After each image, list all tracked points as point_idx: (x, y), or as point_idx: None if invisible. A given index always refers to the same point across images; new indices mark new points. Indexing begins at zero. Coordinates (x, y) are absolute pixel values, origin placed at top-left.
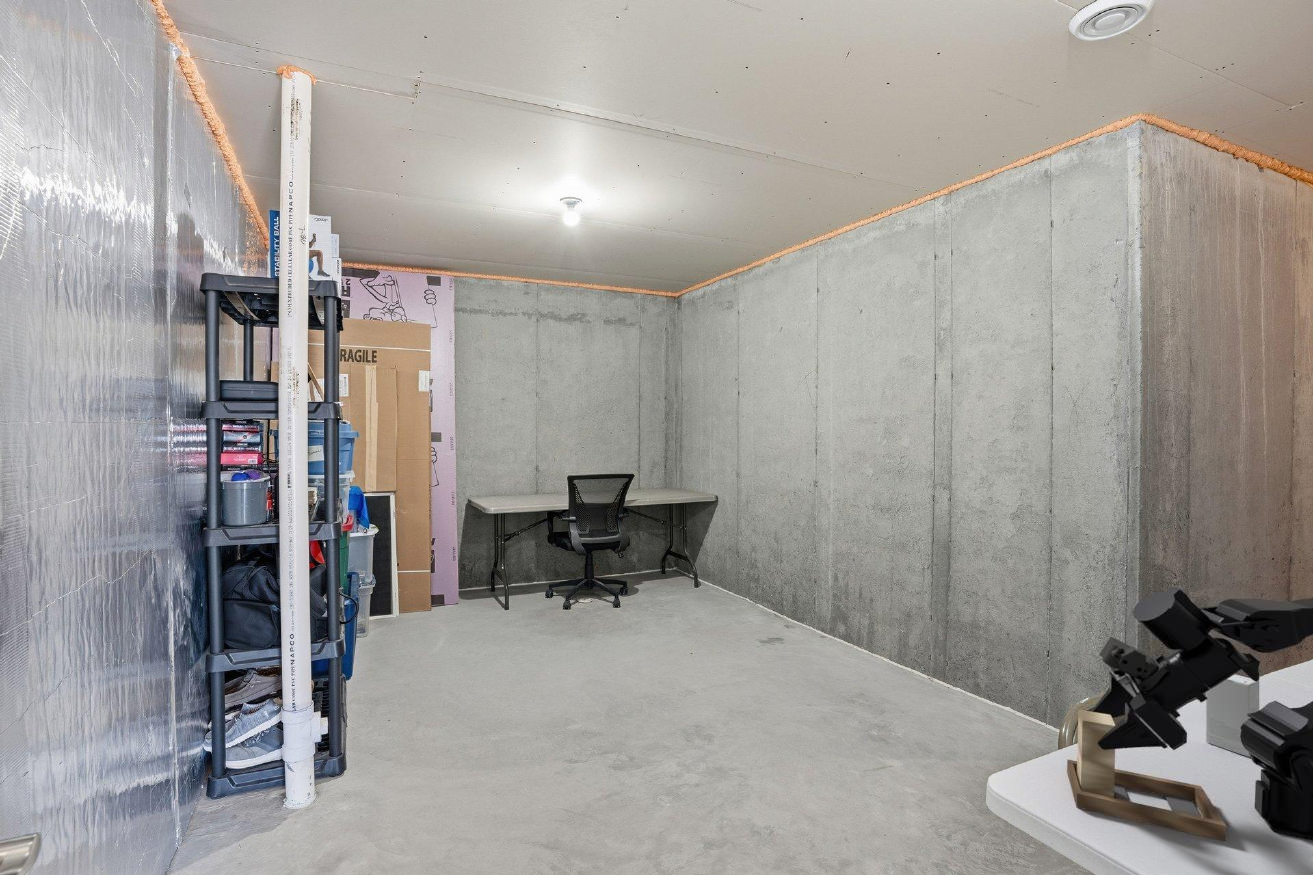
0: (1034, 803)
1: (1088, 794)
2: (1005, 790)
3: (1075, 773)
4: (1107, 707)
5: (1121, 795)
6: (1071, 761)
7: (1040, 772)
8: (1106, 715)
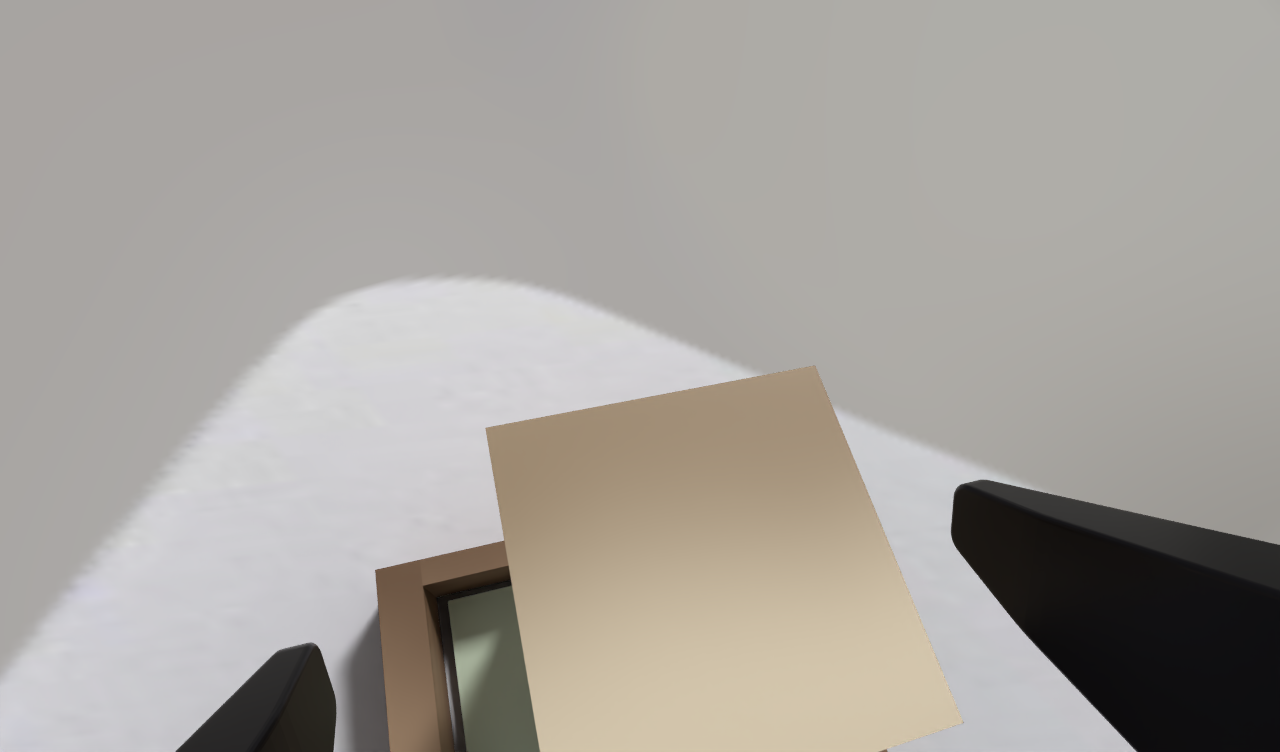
0: (320, 412)
1: (398, 629)
2: (378, 299)
3: None
4: (1180, 653)
5: None
6: None
7: None
8: (897, 673)
